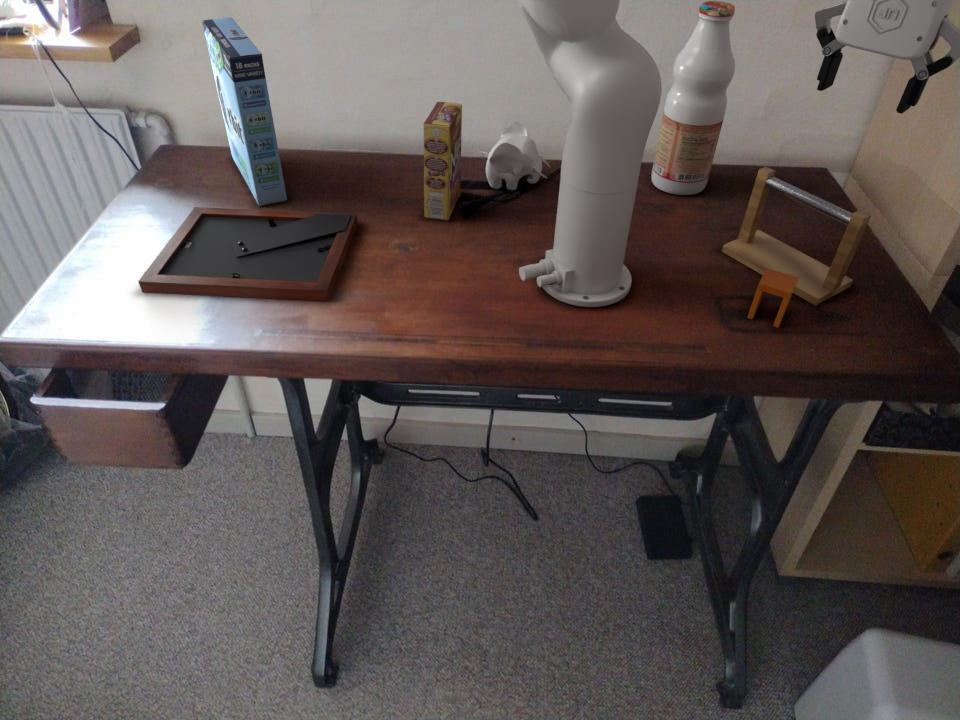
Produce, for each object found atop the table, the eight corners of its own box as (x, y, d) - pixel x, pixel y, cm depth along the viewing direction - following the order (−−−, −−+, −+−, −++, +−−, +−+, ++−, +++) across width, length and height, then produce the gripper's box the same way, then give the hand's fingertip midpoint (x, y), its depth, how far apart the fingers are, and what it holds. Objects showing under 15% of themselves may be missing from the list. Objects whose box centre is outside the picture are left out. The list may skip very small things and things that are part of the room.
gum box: (232, 158, 122) (199, 19, 106) (261, 153, 123) (232, 16, 108) (258, 207, 109) (225, 57, 94) (290, 200, 110) (262, 52, 95)
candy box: (451, 222, 106) (449, 125, 96) (424, 218, 107) (420, 123, 97) (462, 195, 113) (462, 102, 103) (437, 192, 113) (434, 100, 103)
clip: (746, 318, 89) (759, 283, 85) (754, 302, 92) (766, 267, 88) (778, 328, 88) (792, 293, 84) (785, 312, 90) (798, 277, 87)
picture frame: (357, 224, 105) (197, 217, 106) (356, 212, 104) (194, 205, 105) (328, 301, 90) (142, 292, 91) (326, 288, 89) (137, 279, 90)
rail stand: (815, 306, 91) (849, 225, 83) (721, 251, 101) (743, 174, 93) (850, 287, 95) (886, 207, 87) (756, 236, 105) (780, 160, 96)
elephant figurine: (544, 200, 112) (548, 148, 106) (472, 192, 114) (473, 140, 108) (552, 174, 119) (556, 124, 113) (484, 167, 121) (485, 117, 115)
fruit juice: (639, 182, 117) (671, 3, 99) (670, 166, 122) (707, -8, 104) (685, 202, 112) (729, 17, 94) (716, 184, 117) (764, 5, 99)
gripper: (830, -71, 75) (782, 87, 87) (1005, -45, 66) (925, 128, 78) (858, -78, 79) (808, 73, 91) (1026, -54, 70) (947, 111, 82)
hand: (862, 98), depth 84 cm, fingers open, 9 cm apart
